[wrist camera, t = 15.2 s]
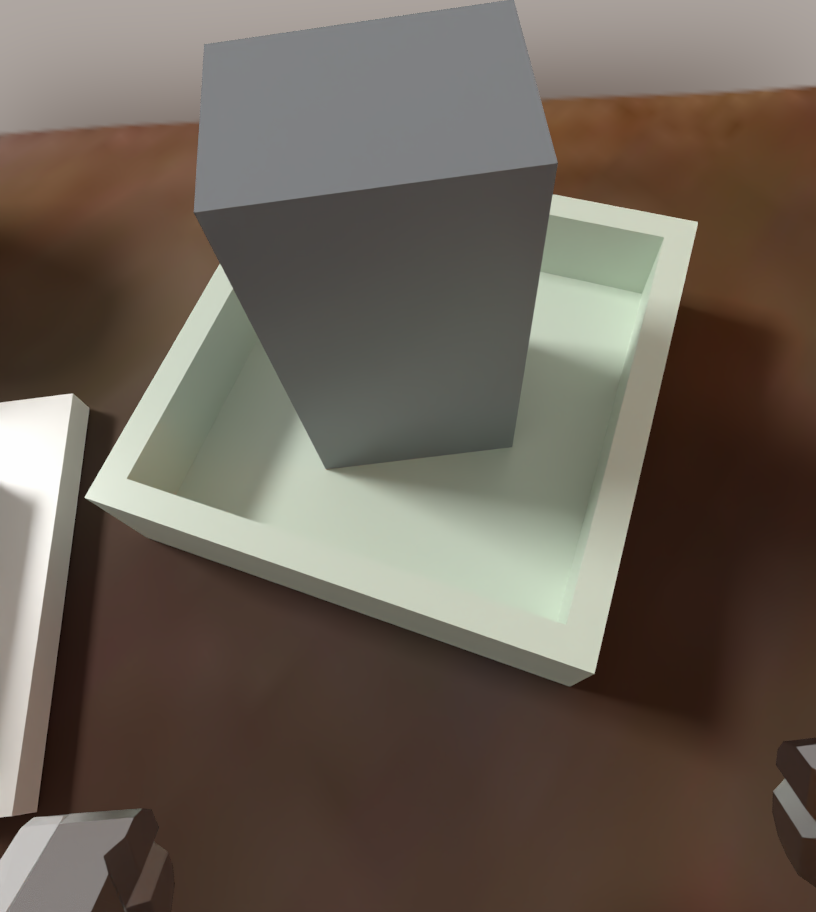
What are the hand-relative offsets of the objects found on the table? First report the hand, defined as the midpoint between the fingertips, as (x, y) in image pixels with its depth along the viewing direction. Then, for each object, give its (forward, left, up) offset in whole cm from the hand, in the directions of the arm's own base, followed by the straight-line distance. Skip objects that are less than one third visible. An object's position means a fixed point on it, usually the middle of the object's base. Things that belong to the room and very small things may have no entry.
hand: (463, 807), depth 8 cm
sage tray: (-5, +9, -8) cm, 13 cm away
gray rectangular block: (-5, +9, -7) cm, 13 cm away
